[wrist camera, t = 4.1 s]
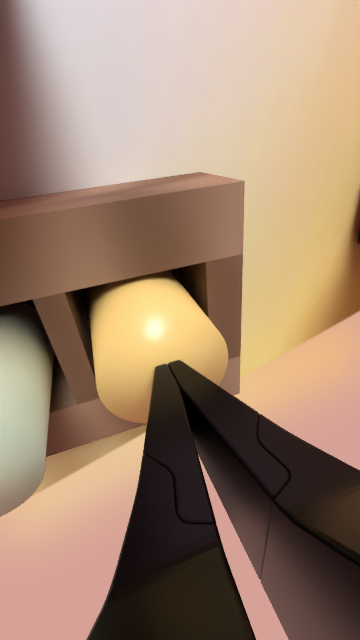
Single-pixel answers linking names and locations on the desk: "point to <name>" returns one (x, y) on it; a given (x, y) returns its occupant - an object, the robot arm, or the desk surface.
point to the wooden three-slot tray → (120, 274)
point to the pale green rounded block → (23, 402)
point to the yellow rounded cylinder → (148, 339)
